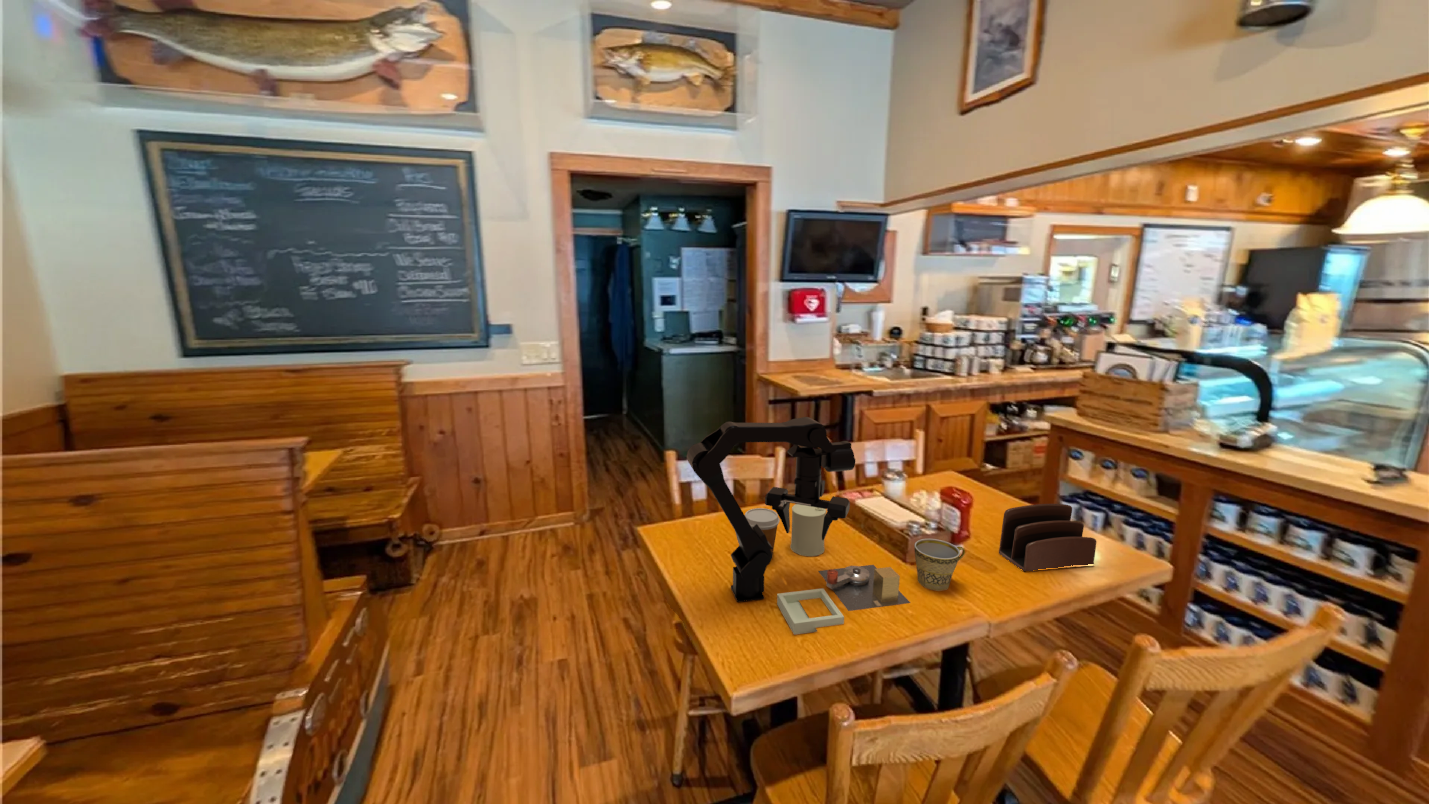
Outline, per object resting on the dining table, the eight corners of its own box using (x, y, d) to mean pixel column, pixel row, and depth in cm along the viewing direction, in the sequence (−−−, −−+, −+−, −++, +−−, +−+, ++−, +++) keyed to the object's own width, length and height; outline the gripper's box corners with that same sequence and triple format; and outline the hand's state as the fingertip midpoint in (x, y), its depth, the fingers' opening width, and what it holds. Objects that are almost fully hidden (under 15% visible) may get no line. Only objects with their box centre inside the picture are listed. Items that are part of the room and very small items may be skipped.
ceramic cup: (928, 601, 121) (932, 561, 119) (902, 578, 130) (905, 541, 128) (976, 592, 124) (980, 553, 122) (947, 571, 134) (951, 534, 132)
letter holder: (997, 553, 143) (1003, 505, 140) (1063, 549, 146) (1071, 500, 143) (1023, 573, 133) (1030, 521, 130) (1094, 567, 136) (1102, 516, 133)
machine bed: (848, 614, 116) (848, 608, 116) (817, 574, 132) (818, 569, 132) (910, 606, 119) (910, 600, 119) (873, 568, 135) (873, 562, 135)
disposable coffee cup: (756, 544, 147) (756, 504, 145) (785, 555, 142) (786, 513, 139) (735, 558, 140) (735, 515, 138) (765, 570, 134) (766, 526, 132)
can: (827, 556, 141) (829, 514, 138) (792, 556, 141) (794, 514, 139) (821, 540, 150) (823, 500, 147) (788, 540, 150) (789, 500, 148)
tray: (793, 634, 109) (794, 623, 109) (777, 604, 120) (777, 593, 119) (843, 627, 111) (844, 616, 111) (822, 598, 122) (823, 588, 121)
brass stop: (881, 602, 119) (883, 577, 118) (872, 592, 123) (874, 568, 121) (897, 600, 120) (899, 576, 118) (888, 590, 123) (890, 567, 122)
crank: (855, 567, 132) (856, 554, 131) (874, 578, 127) (875, 564, 126) (819, 581, 126) (819, 567, 125) (837, 593, 121) (838, 579, 120)
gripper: (855, 468, 125) (851, 529, 128) (779, 457, 132) (777, 515, 135) (847, 483, 115) (843, 549, 118) (765, 471, 122) (763, 533, 125)
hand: (805, 535), depth 124 cm, fingers open, 8 cm apart
